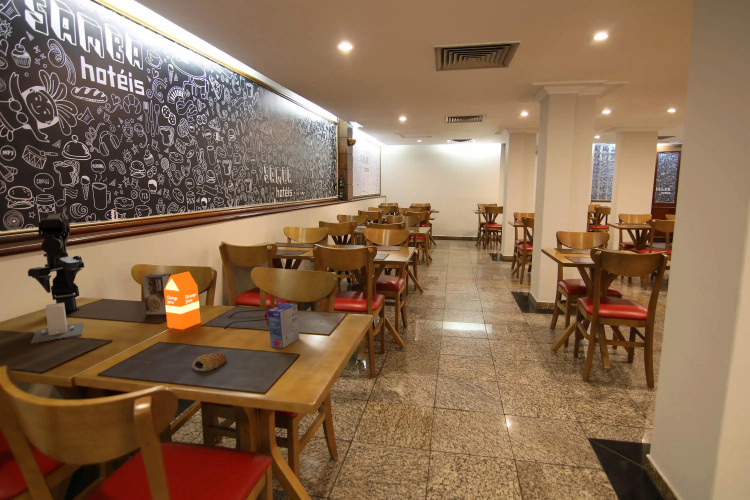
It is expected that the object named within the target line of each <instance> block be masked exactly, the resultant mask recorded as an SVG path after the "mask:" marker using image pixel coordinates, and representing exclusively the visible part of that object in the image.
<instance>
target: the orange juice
mask: <svg viewBox="0 0 750 500" xmlns="http://www.w3.org/2000/svg"><path fill="white" fill-rule="evenodd" d="M164 294H165V304H166V305H165V306H166V314H165V315H166V323H167V328H170V329H176V330H185V329H187V328H190V327H193V326H195V325H199V324H200V323H201V312H200V300H199V290H198V284H197V283H196V281H195V279H194V277H193V276H192V274H191V272H190V271H185V272H181V273H176V274H171V276H170V278H169V281H168V283H167V285H166V287H165V290H164Z"/></svg>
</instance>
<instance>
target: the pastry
mask: <svg viewBox="0 0 750 500" xmlns="http://www.w3.org/2000/svg"><path fill="white" fill-rule="evenodd" d="M226 360H227V358H226V354H224V353H222V352H210V353H204V354H202V355H199V356H197V357H196V358H195V359H194V361H192V365H191V367H192V368H193V370H194V371H199V372H200V371H201V372H211V371H213V370H214V369H217V368H219V367H220V366H222V365H223V364H224V363H225V362H226Z"/></svg>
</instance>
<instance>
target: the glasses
mask: <svg viewBox="0 0 750 500" xmlns="http://www.w3.org/2000/svg"><path fill="white" fill-rule="evenodd" d="M269 310H271V308H269V305H268V304H267V305H266V308H265V309H254V310H241V311H236V312H234V313H232V314H231V315H229V316H228V317H227V318H228V319H230V318H231V317H233V316H234V315H235V314H238V313H249V312H260V311H261V312H263V311H265V314H264V318H262V319H252V320H251V319H250V320H240V321H237V320H236V321H232V322H229V323H228V324H227V325H226V326H225V327H223V330H225V329H227V328H228V327H230V326H231V325H232V324H235V323H247V322H259V321H260V322H261V321H265V322H266V324H269V320H268V311H269Z"/></svg>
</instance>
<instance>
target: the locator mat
mask: <svg viewBox="0 0 750 500" xmlns="http://www.w3.org/2000/svg"><path fill="white" fill-rule="evenodd" d="M71 325H74V330H70V326H71ZM83 327H84V323H83V322H76V323H72V324H71V323H70V324H67V328H68V329H67V332H66V333H60V335H58V336H55V334H53V335H49V331H48V327H45V328H40V329H36V331H35V333H34V335H33V337H32V339H31V341H30V344H31V343H36V342H41V341H47V340H54V339H60V340H63V339H62V338H65V339H70V338H77V337H82V333H83ZM42 330H46V334H45V335H42ZM54 341H55V340H54ZM36 344H37V343H36Z"/></svg>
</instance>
